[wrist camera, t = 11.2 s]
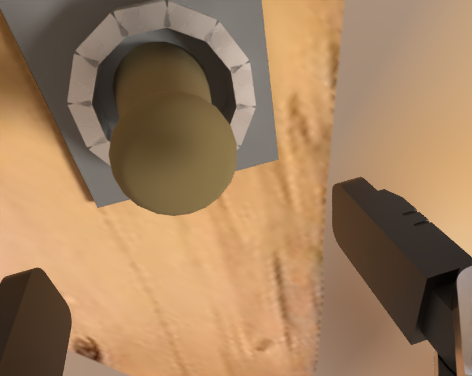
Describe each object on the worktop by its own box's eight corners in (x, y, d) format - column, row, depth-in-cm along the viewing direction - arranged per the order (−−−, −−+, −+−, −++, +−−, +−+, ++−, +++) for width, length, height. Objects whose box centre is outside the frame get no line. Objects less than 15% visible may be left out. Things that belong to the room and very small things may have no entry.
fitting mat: (-4, -10, 18) (-9, -9, 17) (250, -59, 20) (254, -60, 19) (98, 201, 26) (97, 207, 25) (275, 155, 27) (278, 159, 27)
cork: (187, 148, 24) (215, 251, 15) (99, 116, 22) (71, 217, 13) (224, 68, 22) (284, 133, 13) (132, 22, 20) (125, 64, 11)
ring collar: (44, 22, 19) (32, 28, 17) (229, -16, 20) (239, -15, 18) (113, 181, 24) (111, 200, 22) (253, 144, 26) (263, 159, 23)
